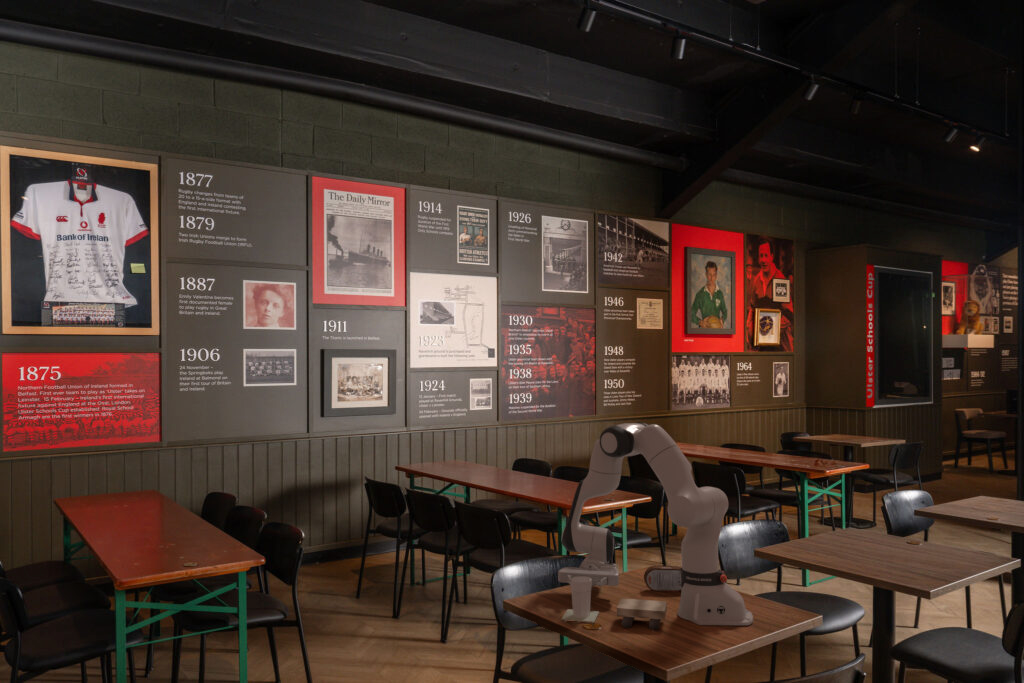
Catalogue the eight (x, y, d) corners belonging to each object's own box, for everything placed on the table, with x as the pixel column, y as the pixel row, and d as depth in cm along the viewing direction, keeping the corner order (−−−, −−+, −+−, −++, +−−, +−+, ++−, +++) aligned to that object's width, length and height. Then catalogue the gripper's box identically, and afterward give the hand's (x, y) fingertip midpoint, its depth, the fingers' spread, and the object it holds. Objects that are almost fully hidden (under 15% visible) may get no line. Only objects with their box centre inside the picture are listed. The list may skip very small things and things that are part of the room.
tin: (687, 590, 260) (687, 565, 260) (689, 592, 257) (688, 567, 257) (644, 589, 261) (643, 565, 262) (644, 592, 258) (644, 567, 258)
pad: (599, 613, 235) (599, 611, 235) (594, 623, 225) (594, 621, 225) (567, 611, 237) (567, 609, 238) (561, 621, 228) (561, 619, 228)
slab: (667, 618, 229) (666, 600, 230) (664, 631, 218) (664, 612, 218) (621, 615, 233) (621, 597, 233) (616, 627, 222) (616, 609, 222)
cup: (580, 620, 227) (580, 583, 227) (566, 614, 232) (565, 578, 232) (596, 615, 231) (596, 579, 231) (581, 610, 236) (581, 575, 237)
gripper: (561, 560, 258) (553, 571, 244) (621, 564, 252) (616, 574, 239) (561, 579, 257) (553, 590, 244) (621, 583, 252) (616, 594, 239)
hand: (585, 582), depth 241 cm, fingers open, 8 cm apart
